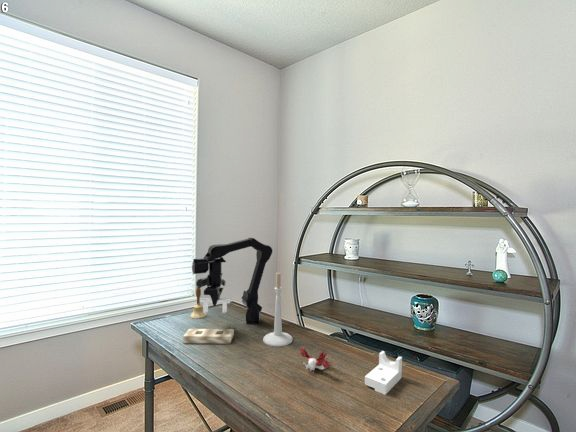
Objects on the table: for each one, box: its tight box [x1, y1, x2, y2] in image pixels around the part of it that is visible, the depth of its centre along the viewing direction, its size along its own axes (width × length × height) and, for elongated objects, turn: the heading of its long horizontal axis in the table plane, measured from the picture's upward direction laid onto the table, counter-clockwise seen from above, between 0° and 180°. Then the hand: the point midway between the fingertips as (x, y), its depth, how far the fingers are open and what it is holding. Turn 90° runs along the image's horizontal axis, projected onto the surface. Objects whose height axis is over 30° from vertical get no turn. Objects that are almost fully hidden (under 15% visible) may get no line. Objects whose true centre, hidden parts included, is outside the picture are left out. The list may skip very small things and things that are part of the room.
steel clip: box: [200, 297, 231, 314], centre depth 152 cm, size 14×2×6 cm, turn 90°
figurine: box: [299, 345, 334, 374], centre depth 116 cm, size 15×12×7 cm
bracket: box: [364, 350, 403, 396], centre depth 108 cm, size 13×7×8 cm, turn 139°
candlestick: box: [262, 272, 294, 348], centre depth 140 cm, size 13×13×30 cm
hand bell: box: [189, 286, 207, 320], centre depth 169 cm, size 8×8×16 cm
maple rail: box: [182, 328, 235, 345], centre depth 140 cm, size 20×8×3 cm, turn 90°
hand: (215, 304), depth 152 cm, fingers closed on steel clip, 2 cm apart
